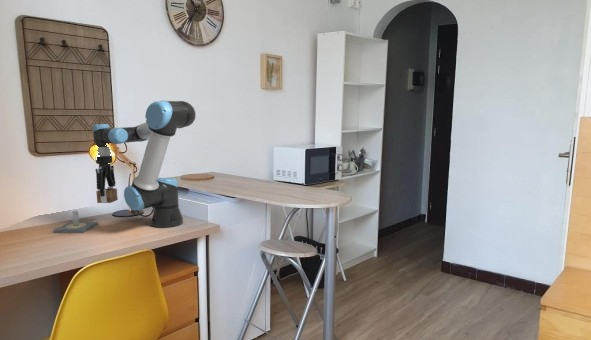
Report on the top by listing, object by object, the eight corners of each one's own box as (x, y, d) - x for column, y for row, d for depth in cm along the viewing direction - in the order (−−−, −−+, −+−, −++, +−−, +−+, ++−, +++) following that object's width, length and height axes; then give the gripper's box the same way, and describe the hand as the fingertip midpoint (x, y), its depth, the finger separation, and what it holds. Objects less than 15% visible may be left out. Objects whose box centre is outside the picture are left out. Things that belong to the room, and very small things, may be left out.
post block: (98, 224, 214) (96, 208, 213) (82, 232, 200) (81, 215, 199) (70, 224, 215) (69, 208, 214) (53, 232, 201) (51, 215, 200)
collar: (117, 199, 220) (116, 188, 220) (111, 202, 213) (110, 190, 213) (104, 200, 221) (103, 188, 220) (97, 202, 214) (96, 191, 213)
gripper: (106, 153, 224) (110, 197, 227) (85, 157, 204) (90, 205, 207) (120, 153, 224) (124, 196, 227) (100, 157, 204) (105, 204, 207)
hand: (107, 200), depth 217 cm, fingers closed on collar, 7 cm apart
